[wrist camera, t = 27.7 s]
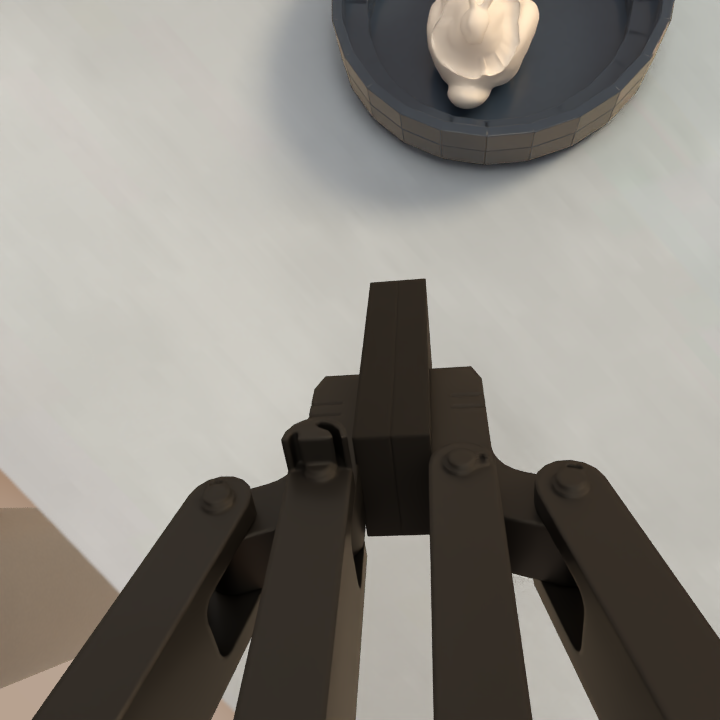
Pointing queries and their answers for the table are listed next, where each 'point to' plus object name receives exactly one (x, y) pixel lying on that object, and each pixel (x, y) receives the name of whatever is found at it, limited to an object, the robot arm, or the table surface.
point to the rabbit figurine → (479, 44)
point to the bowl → (516, 97)
